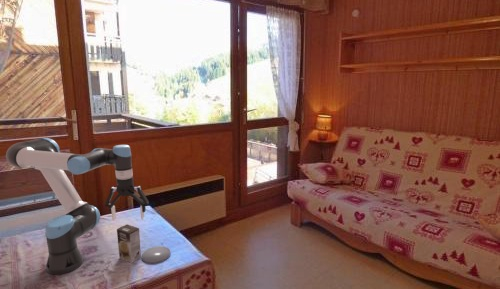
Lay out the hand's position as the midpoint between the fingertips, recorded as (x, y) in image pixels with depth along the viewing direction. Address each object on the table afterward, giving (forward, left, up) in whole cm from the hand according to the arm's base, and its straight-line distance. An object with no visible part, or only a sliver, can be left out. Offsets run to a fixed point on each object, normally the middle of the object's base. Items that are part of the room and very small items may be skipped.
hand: (128, 218), depth 145 cm
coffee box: (-1, 0, -22) cm, 22 cm away
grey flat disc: (+12, +1, -21) cm, 24 cm away
